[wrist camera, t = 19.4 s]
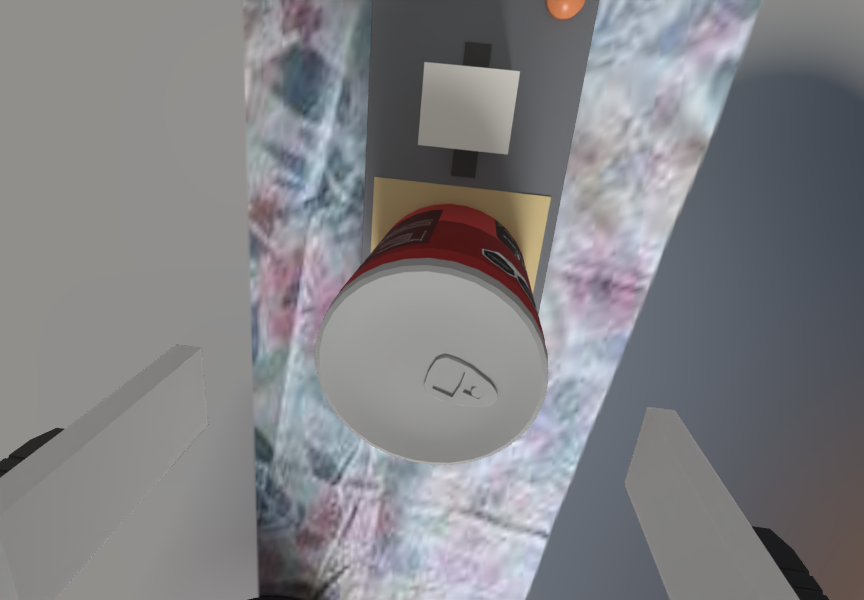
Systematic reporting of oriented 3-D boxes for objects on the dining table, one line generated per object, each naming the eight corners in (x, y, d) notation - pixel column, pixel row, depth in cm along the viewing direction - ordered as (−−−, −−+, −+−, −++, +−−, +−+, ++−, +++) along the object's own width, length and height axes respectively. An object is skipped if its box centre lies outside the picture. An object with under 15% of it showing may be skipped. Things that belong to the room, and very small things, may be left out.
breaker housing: (514, 385, 33) (518, 429, 29) (370, 366, 34) (352, 405, 29) (590, -28, 24) (614, -58, 20) (392, -45, 25) (371, -78, 20)
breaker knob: (503, 146, 23) (507, 154, 19) (429, 138, 24) (417, 144, 19) (513, 78, 22) (520, 71, 18) (435, 70, 22) (424, 61, 18)
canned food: (511, 345, 28) (525, 485, 17) (373, 323, 28) (308, 446, 18) (539, 212, 25) (577, 286, 15) (385, 189, 25) (316, 245, 15)
